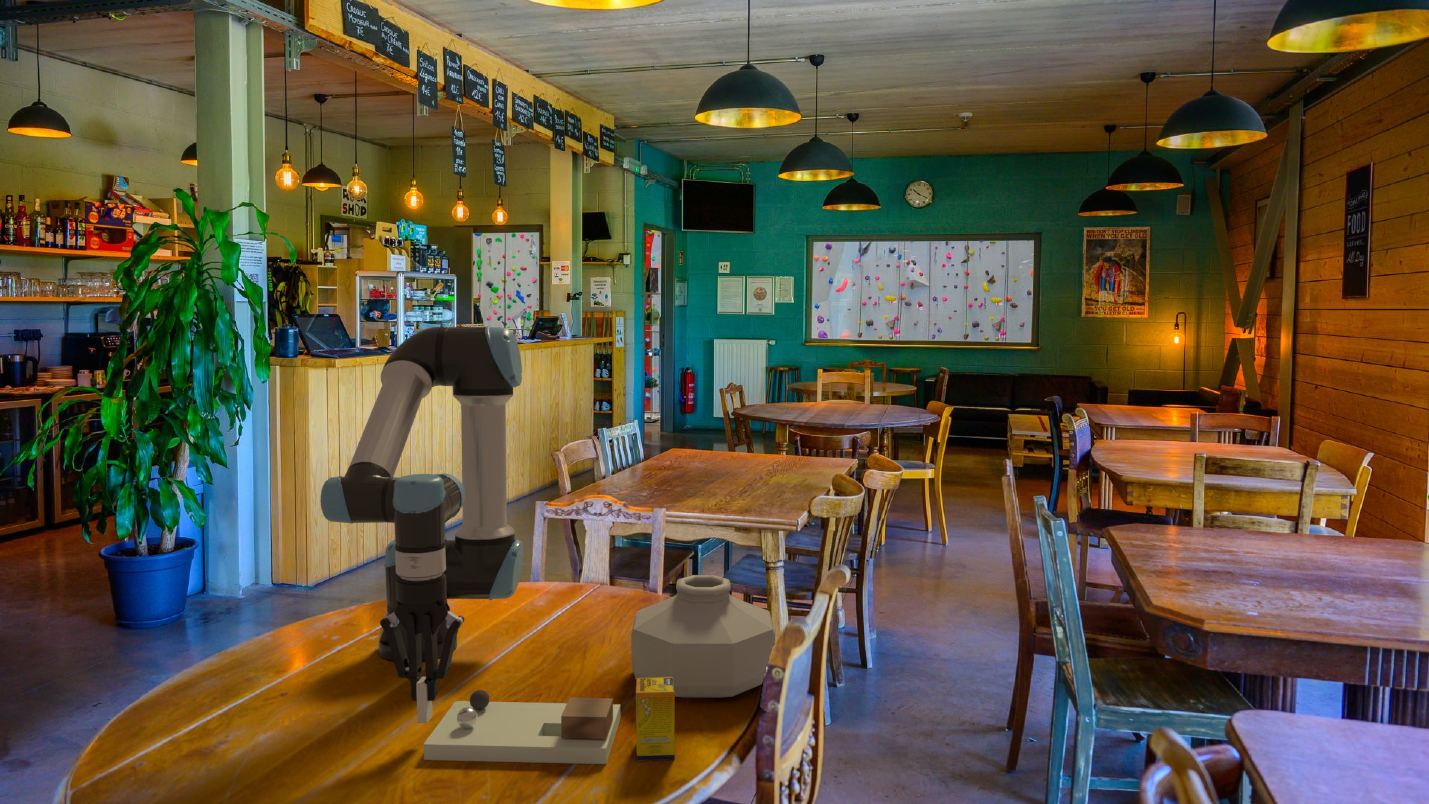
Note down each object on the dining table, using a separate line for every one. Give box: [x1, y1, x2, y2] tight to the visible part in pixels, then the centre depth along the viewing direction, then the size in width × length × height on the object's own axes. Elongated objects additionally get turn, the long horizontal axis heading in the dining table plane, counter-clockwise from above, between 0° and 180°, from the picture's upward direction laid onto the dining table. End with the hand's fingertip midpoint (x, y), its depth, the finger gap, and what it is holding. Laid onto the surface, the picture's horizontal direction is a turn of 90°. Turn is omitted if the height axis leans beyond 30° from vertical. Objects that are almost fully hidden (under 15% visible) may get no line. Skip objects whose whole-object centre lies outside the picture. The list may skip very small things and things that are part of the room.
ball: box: [457, 707, 478, 729], centre depth 152 cm, size 3×3×3 cm
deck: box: [423, 700, 621, 765], centre depth 154 cm, size 28×16×2 cm, turn 88°
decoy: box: [469, 689, 490, 710], centre depth 159 cm, size 3×3×3 cm
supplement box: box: [635, 677, 676, 762], centre depth 150 cm, size 6×6×11 cm
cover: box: [561, 697, 614, 739], centre depth 152 cm, size 7×7×4 cm
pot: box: [630, 574, 776, 699], centre depth 179 cm, size 28×28×19 cm
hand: (424, 719), depth 153 cm, fingers closed
